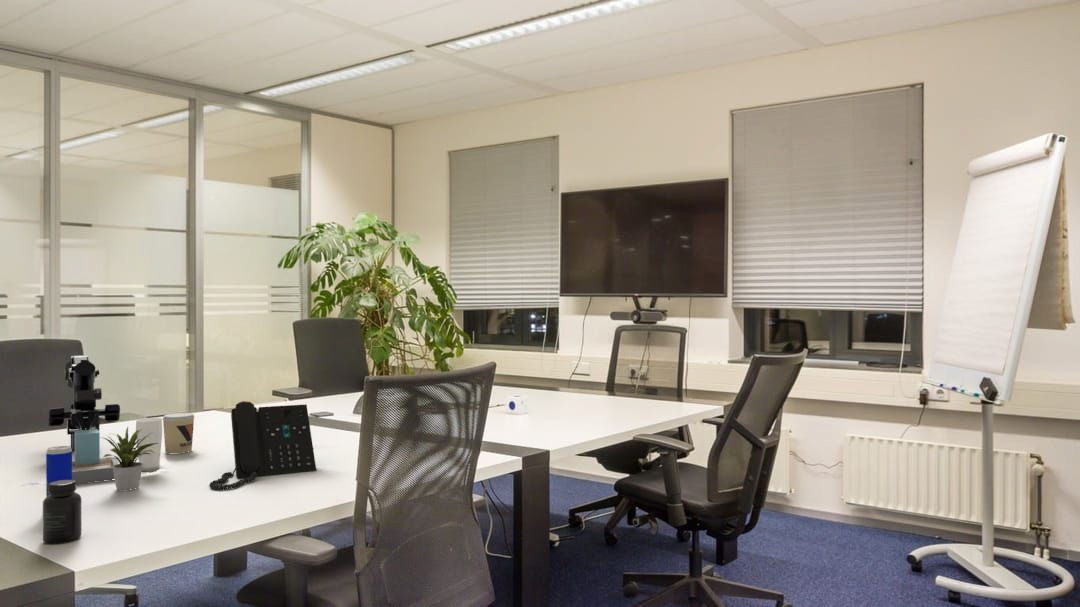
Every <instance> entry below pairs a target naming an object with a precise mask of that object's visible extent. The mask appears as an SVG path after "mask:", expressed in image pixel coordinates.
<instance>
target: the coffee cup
mask: <svg viewBox="0 0 1080 607" xmlns="http://www.w3.org/2000/svg"><path fill="white" fill-rule="evenodd" d="M194 420H195V415H194V413H192V412H174V413H166V414H164V415H163V417H162V427H163V437H164V438H163V439H164V448H165V449H164V450H165V453H166V452H167V453H166V454H168V453H181V454H184V453H183V452H187V453H189V452H188V451H190V452H192V451H193V450H192V449H193V441H194V439H193V438H194V422H195V421H194Z"/></svg>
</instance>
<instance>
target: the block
mask: <svg viewBox="0 0 1080 607" xmlns="http://www.w3.org/2000/svg"><path fill="white" fill-rule="evenodd" d="M99 437H100V430H99V431H98V429H94V430H82V431H75V452H74V461H75V465H76V466H77V465H87V464H96V463H100V459H101V458H100V455H101V454H100V448H101V446H100V439H101V438H99Z"/></svg>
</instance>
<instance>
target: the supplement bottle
mask: <svg viewBox="0 0 1080 607" xmlns="http://www.w3.org/2000/svg"><path fill="white" fill-rule="evenodd" d="M76 490H77V484H76V481H74V480H60V481H55V482H51V483H49V485H48V493H50V495H49V496H47V497H45V498H44V500H43V501H42V541H43V543H44V544H46V545H63V544H68V543H71V542H74V541H77V540H79V539H80V538H81V537H82V529H83V528H82V525H83V524H82V496H81V495H80V494H79V493H78V492H75V491H76Z"/></svg>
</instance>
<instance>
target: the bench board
mask: <svg viewBox="0 0 1080 607" xmlns="http://www.w3.org/2000/svg"><path fill="white" fill-rule="evenodd" d="M106 458H107V457H102V458H100V463H96V464H87V465H77V466H76V465H75V460H74V461H73V460H72V470H73V469H75V470H76V469H84V468H92V467H94V468H95V467H101V466H102V467H103V466H111V458H112V457H111V456H109V457H108V458H109V459H106Z"/></svg>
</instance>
